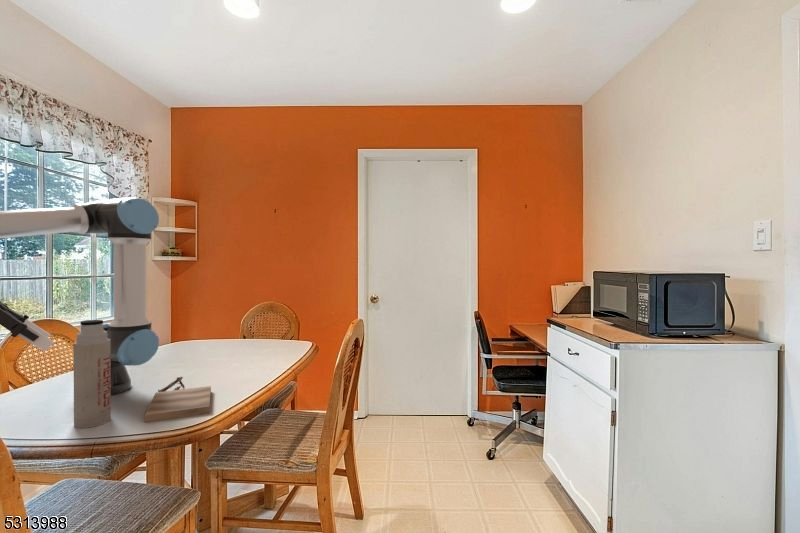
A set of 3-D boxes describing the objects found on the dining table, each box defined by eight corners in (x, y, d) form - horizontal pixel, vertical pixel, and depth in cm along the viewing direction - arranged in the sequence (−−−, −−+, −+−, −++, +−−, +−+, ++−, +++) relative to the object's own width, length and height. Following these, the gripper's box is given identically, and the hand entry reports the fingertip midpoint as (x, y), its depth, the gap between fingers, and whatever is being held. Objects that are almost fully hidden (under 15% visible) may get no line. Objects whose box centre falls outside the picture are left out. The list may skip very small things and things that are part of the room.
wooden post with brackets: (188, 386, 136) (182, 375, 134) (165, 401, 130) (159, 390, 128) (185, 385, 137) (180, 374, 135) (163, 400, 131) (157, 389, 129)
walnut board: (155, 398, 125) (155, 392, 125) (210, 391, 132) (210, 386, 132) (144, 422, 107) (144, 415, 107) (209, 413, 114) (209, 406, 114)
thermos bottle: (118, 417, 110) (117, 318, 110) (90, 429, 102) (89, 323, 102) (94, 415, 112) (94, 317, 111) (65, 426, 104) (65, 322, 104)
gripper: (-52, 295, 96) (32, 346, 107) (-67, 303, 79) (35, 364, 89) (-21, 273, 100) (57, 325, 111) (-28, 276, 82) (65, 338, 93)
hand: (48, 342), depth 100 cm, fingers open, 13 cm apart
